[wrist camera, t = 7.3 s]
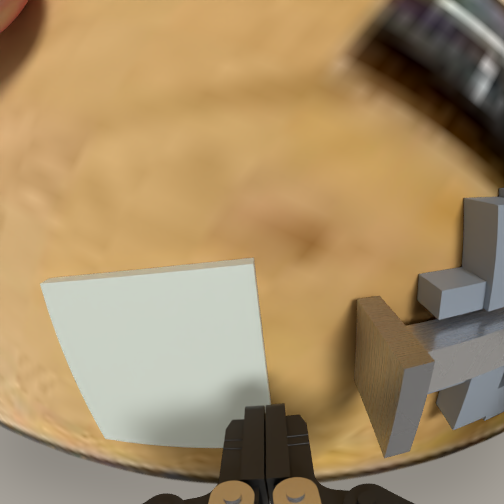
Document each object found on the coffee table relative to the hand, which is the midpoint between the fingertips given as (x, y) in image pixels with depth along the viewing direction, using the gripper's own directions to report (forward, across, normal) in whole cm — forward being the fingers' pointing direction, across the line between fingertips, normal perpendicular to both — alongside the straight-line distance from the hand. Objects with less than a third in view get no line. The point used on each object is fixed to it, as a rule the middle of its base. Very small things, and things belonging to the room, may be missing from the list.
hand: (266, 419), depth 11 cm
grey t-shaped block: (+5, -9, 0) cm, 11 cm away
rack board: (+5, +6, +1) cm, 8 cm away
